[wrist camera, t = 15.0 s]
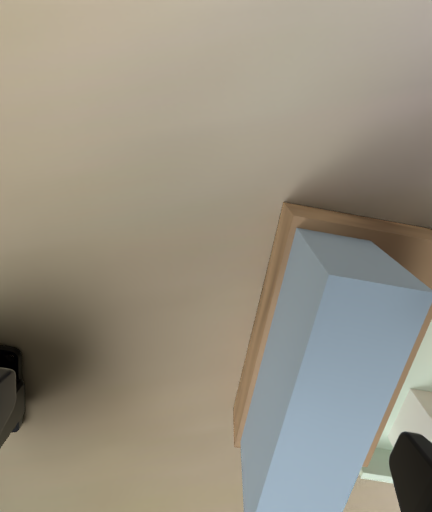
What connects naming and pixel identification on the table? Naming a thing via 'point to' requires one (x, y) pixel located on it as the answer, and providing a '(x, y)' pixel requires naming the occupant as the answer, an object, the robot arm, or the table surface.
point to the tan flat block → (292, 216)
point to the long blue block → (327, 372)
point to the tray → (420, 378)
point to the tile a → (414, 416)
